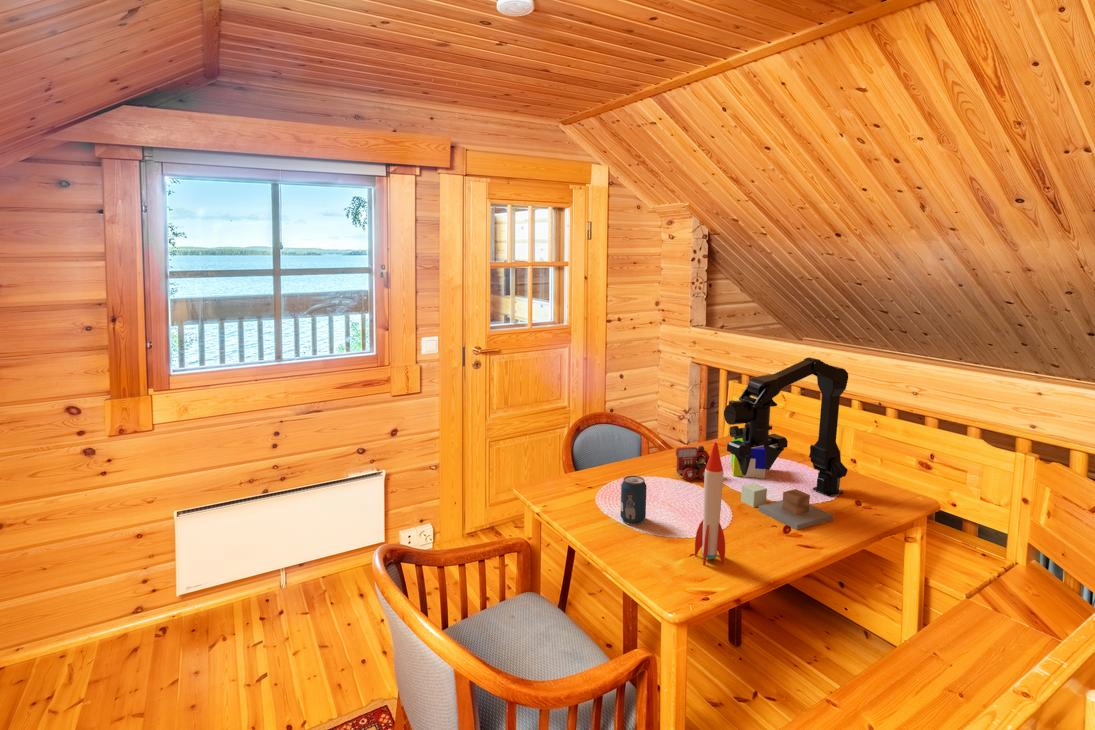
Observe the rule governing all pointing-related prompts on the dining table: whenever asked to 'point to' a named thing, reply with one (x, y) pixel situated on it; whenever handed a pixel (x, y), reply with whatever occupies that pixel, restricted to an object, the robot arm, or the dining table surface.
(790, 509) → the walnut cube
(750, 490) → the sage cube
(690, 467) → the toy fire truck
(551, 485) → the dining table surface
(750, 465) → the puzzle toy
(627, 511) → the soda can
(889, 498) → the dining table surface
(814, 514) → the base board
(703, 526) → the toy rocket
